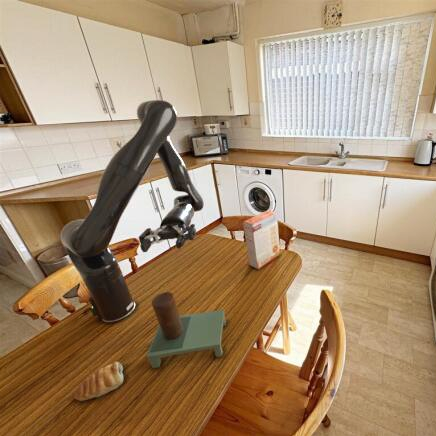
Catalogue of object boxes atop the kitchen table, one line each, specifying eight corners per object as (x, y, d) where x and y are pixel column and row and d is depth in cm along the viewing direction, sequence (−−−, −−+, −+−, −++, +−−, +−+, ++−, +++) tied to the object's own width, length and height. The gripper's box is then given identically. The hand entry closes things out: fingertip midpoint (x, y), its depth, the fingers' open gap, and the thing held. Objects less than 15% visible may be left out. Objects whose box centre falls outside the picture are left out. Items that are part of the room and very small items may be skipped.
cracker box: (270, 250, 111) (267, 209, 102) (280, 255, 107) (277, 212, 99) (248, 265, 101) (242, 220, 92) (257, 270, 98) (252, 224, 89)
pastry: (76, 412, 53) (69, 402, 52) (77, 387, 58) (71, 377, 56) (126, 384, 58) (120, 374, 57) (122, 363, 63) (118, 353, 62)
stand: (151, 369, 61) (145, 355, 59) (166, 330, 72) (161, 318, 70) (222, 356, 64) (219, 343, 62) (226, 321, 75) (224, 309, 72)
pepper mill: (161, 341, 63) (148, 307, 58) (167, 326, 67) (155, 293, 62) (181, 338, 64) (170, 304, 58) (185, 323, 68) (175, 290, 63)
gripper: (150, 213, 75) (127, 238, 60) (197, 208, 76) (186, 232, 62) (157, 234, 78) (136, 262, 63) (202, 229, 80) (191, 256, 65)
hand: (160, 247), depth 63 cm, fingers open, 8 cm apart
